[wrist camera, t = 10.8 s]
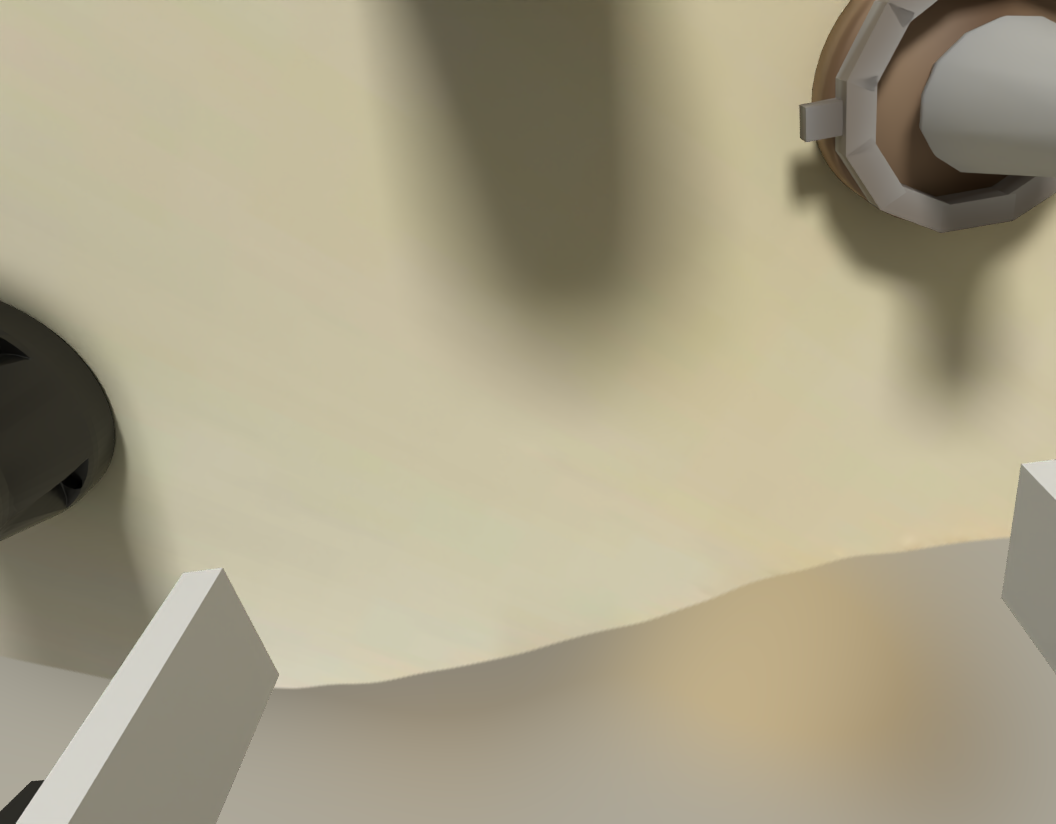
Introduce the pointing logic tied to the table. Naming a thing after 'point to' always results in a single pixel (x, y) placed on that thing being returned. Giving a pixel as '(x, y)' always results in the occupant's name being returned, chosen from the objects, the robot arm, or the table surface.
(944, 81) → the salt shaker
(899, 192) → the brown bowl with handles
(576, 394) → the table surface
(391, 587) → the table surface
